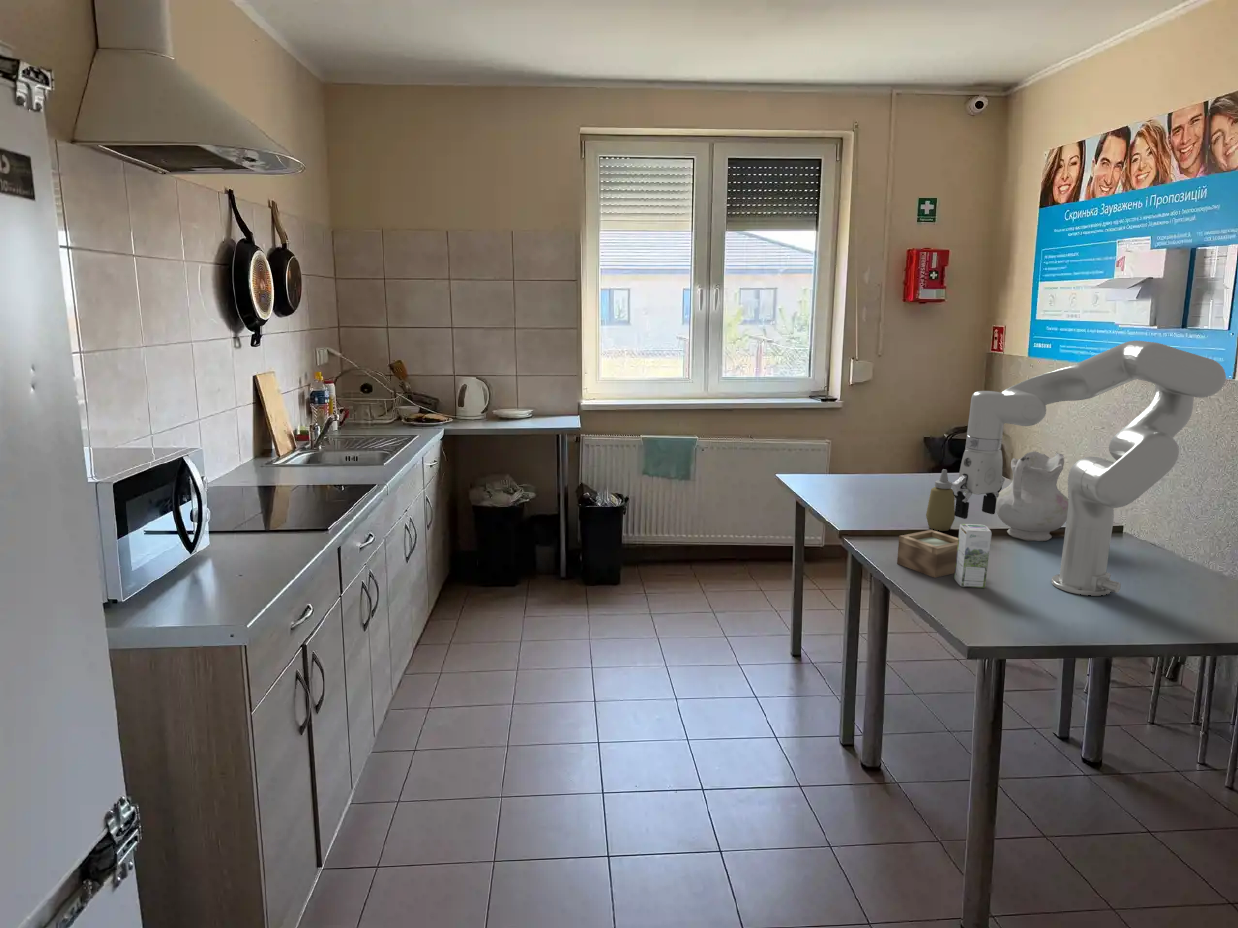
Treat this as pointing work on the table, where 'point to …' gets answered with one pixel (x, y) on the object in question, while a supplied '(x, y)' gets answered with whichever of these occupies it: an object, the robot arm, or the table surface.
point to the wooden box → (928, 552)
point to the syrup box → (972, 555)
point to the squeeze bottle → (941, 504)
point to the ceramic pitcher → (1033, 497)
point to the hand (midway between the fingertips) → (974, 515)
